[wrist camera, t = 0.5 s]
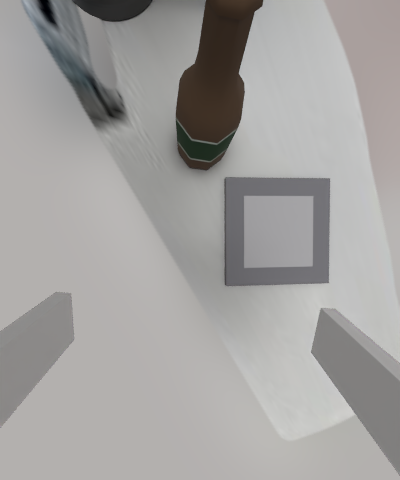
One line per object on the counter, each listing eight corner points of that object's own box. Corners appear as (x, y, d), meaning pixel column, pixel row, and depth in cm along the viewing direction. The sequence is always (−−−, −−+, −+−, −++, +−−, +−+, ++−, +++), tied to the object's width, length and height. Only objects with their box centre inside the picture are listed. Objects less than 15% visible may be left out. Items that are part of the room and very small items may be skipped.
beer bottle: (209, 180, 35) (264, 69, 11) (168, 156, 34) (134, -19, 10) (232, 140, 35) (336, -55, 11) (192, 115, 34) (212, -151, 11)
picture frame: (224, 179, 35) (226, 177, 34) (325, 180, 37) (330, 178, 35) (225, 284, 36) (226, 286, 35) (324, 281, 37) (329, 283, 36)
